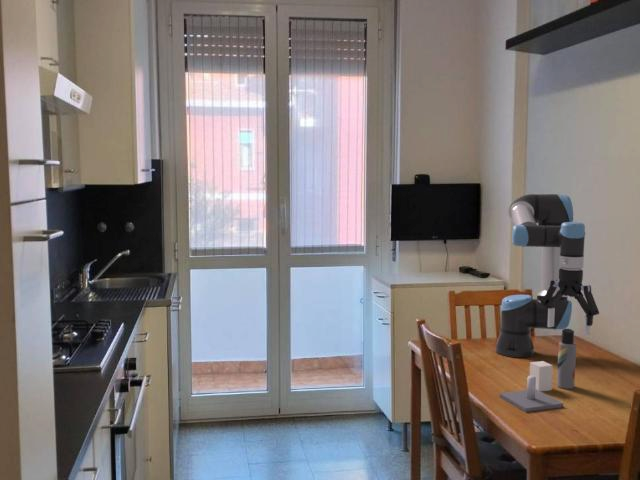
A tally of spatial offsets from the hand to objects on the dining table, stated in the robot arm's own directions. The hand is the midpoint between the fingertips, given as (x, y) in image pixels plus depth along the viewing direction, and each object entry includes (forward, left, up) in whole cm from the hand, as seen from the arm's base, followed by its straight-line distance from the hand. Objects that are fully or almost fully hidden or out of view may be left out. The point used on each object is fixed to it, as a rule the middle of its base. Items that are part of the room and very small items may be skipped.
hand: (568, 330), depth 220 cm
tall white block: (-3, -8, -20) cm, 22 cm away
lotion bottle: (-2, +1, -20) cm, 20 cm away
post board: (+7, -19, -20) cm, 29 cm away
